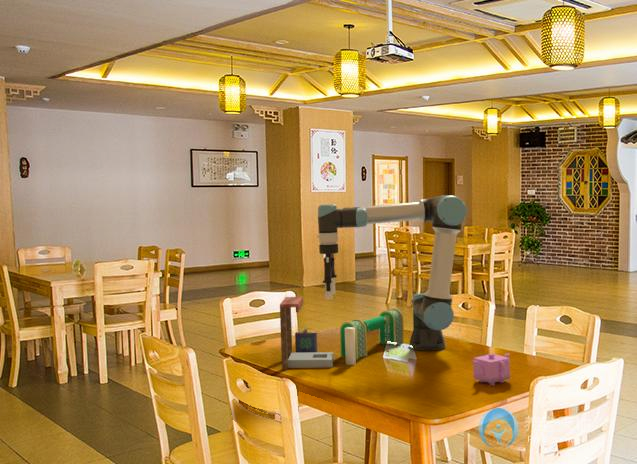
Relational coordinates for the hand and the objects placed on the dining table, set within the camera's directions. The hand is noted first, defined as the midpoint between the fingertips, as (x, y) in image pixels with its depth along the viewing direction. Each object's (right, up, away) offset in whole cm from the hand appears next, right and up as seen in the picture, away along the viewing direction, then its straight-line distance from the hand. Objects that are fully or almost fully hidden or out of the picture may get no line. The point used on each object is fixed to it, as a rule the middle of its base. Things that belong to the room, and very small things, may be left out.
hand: (330, 296), depth 268 cm
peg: (+8, -26, -5) cm, 27 cm away
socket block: (-8, -26, -3) cm, 27 cm away
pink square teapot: (+55, -26, -35) cm, 70 cm away
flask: (-10, -25, +14) cm, 31 cm away
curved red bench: (-15, -26, -2) cm, 30 cm away
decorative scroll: (+18, -24, +18) cm, 36 cm away
